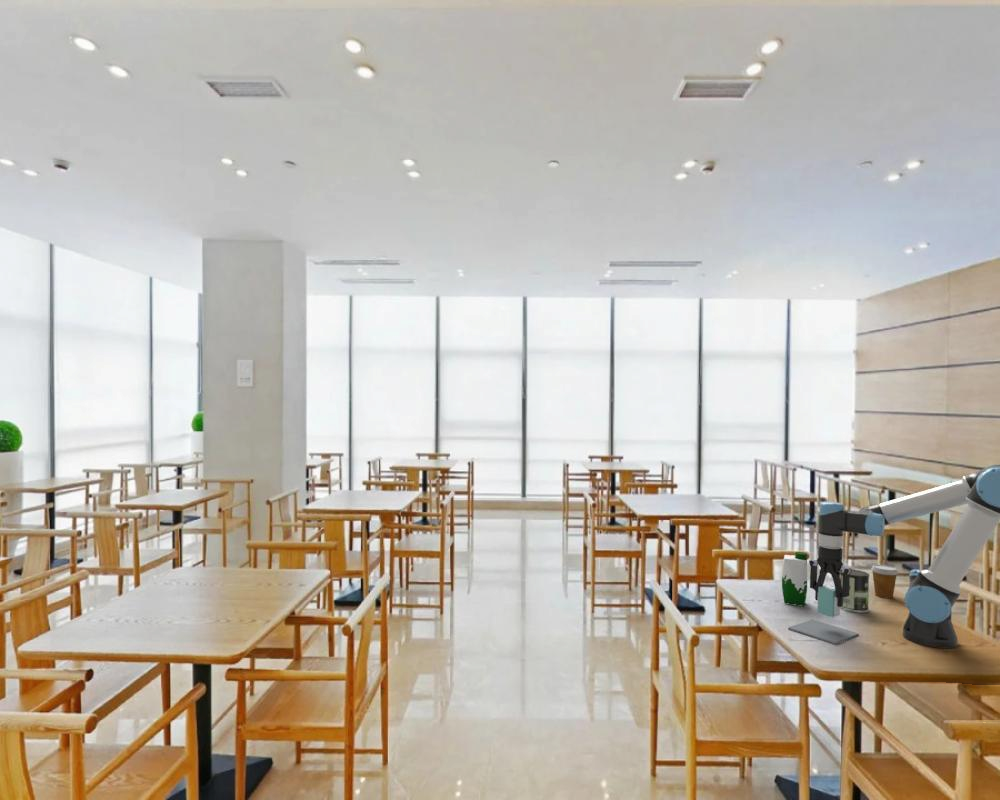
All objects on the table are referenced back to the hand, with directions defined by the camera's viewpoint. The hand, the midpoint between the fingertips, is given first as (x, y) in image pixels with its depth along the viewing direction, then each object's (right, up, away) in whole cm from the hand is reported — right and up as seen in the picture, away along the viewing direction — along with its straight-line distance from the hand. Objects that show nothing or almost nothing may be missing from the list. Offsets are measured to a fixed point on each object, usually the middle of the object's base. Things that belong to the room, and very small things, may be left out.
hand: (828, 612), depth 209 cm
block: (0, 0, 0) cm, 0 cm away
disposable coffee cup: (+46, -8, +42) cm, 63 cm away
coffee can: (+23, -7, +24) cm, 34 cm away
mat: (-3, -6, -2) cm, 7 cm away
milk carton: (+2, -7, +30) cm, 30 cm away
